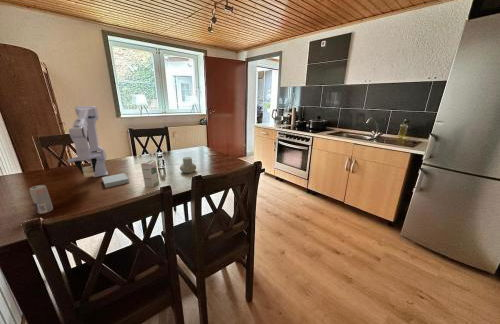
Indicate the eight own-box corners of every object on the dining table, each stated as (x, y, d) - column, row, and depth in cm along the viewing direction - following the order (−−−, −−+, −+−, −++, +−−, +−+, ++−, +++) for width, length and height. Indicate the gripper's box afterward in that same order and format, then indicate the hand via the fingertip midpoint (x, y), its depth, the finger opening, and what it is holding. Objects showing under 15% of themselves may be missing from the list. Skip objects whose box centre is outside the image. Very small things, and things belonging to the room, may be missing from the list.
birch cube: (84, 175, 116) (82, 167, 114) (93, 173, 118) (92, 165, 117) (84, 177, 112) (82, 169, 111) (94, 175, 115) (92, 168, 114)
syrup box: (153, 187, 118) (149, 163, 114) (144, 186, 119) (140, 162, 115) (159, 183, 123) (156, 160, 119) (150, 182, 125) (147, 159, 120)
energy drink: (44, 208, 96) (36, 184, 92) (56, 207, 96) (49, 184, 92) (34, 214, 90) (24, 190, 87) (46, 213, 91) (38, 189, 87)
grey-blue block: (103, 181, 125) (101, 177, 124) (125, 177, 133) (124, 173, 132) (105, 188, 117) (104, 183, 116) (129, 183, 124) (128, 178, 123)
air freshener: (185, 175, 136) (184, 161, 133) (178, 172, 141) (176, 158, 137) (198, 170, 144) (197, 157, 141) (191, 168, 149) (190, 155, 146)
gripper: (64, 153, 103) (71, 177, 107) (99, 148, 112) (104, 171, 116) (65, 150, 108) (71, 173, 113) (98, 146, 117) (103, 168, 121)
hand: (88, 172), depth 115 cm, fingers closed on birch cube, 4 cm apart
